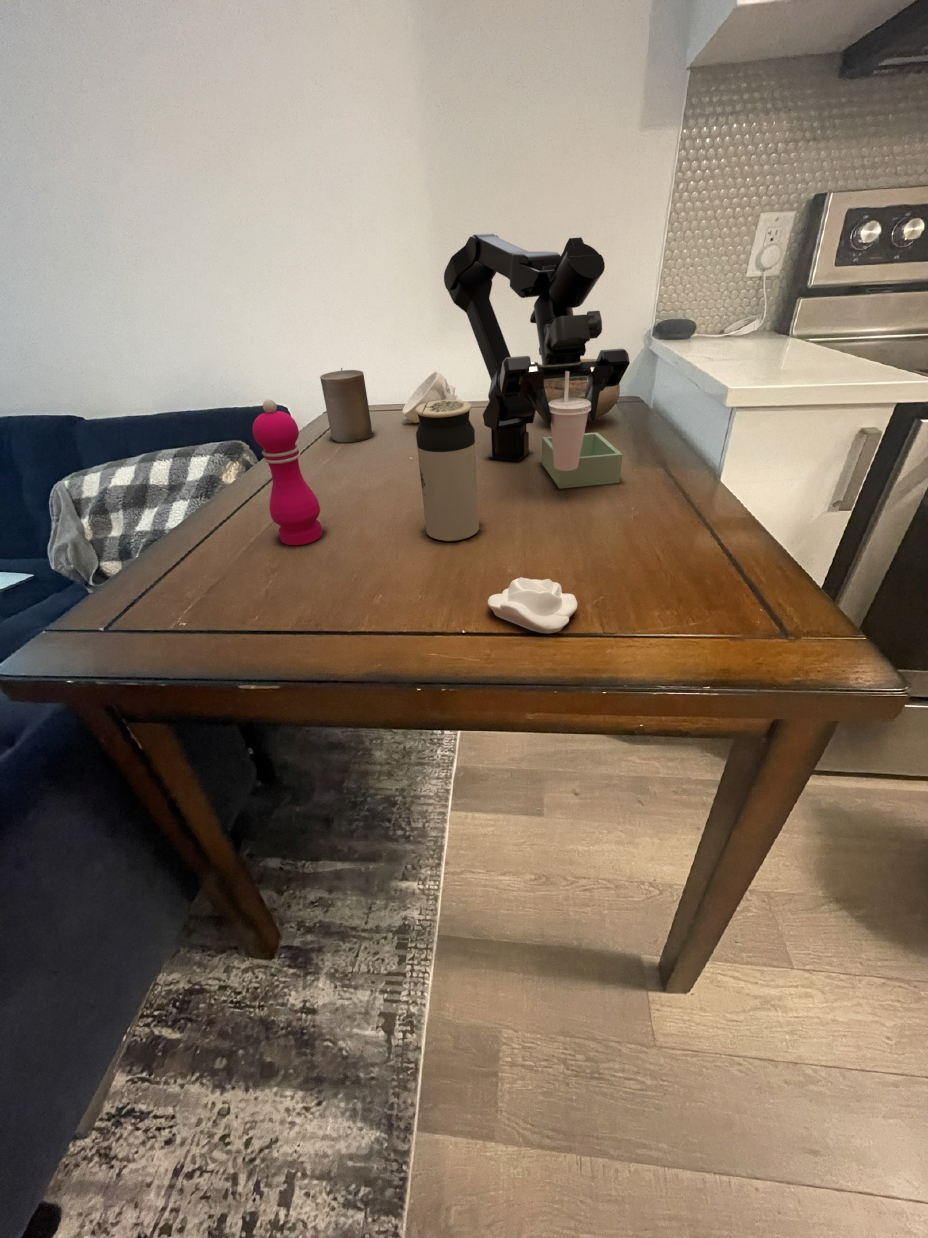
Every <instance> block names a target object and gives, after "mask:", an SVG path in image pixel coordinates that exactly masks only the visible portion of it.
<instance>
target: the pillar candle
mask: <svg viewBox="0 0 928 1238" xmlns="http://www.w3.org/2000/svg"><path fill="white" fill-rule="evenodd" d="M319 379H320V384H321V390H322V395H323V400H324V405H325V410H326V414H327V420H328V425H329V429H330V435H331V439H332V440H333V441H335V442H336V443H337V442H338V443H355V442H361V441H364V440H368V439H370V438H372V437H373V435H374V433H373V429H372V420H371V414H370V407H369V400H368V394H367V387H366V380H365V375H364V371H362V370H356V369H345V370H344V369H343V367H340V370H336V371H330V372H326V373H323V374H321V375H320V376H319Z"/></svg>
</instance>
